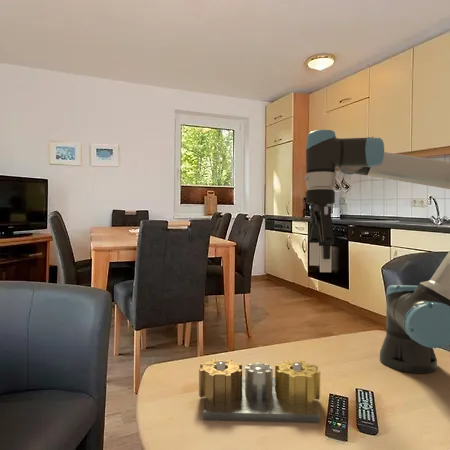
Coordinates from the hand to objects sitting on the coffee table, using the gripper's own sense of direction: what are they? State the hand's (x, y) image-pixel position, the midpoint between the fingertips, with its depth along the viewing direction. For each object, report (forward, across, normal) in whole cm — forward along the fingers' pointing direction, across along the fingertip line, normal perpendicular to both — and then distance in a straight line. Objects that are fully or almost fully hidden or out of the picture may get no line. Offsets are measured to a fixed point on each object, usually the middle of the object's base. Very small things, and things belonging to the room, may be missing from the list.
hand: (319, 268), depth 100 cm
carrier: (+29, +15, -17) cm, 37 cm away
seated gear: (+27, +15, -26) cm, 40 cm away
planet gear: (+27, +15, -8) cm, 32 cm away
